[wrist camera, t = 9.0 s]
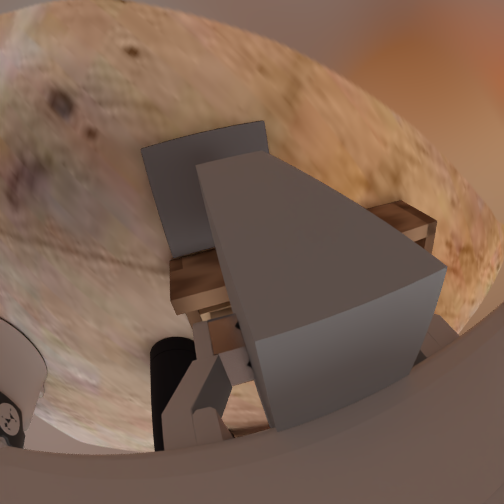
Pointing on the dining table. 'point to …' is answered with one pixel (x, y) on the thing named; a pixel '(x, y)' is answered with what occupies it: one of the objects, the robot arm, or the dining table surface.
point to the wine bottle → (167, 377)
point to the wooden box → (211, 279)
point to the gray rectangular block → (315, 286)
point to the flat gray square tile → (193, 179)
